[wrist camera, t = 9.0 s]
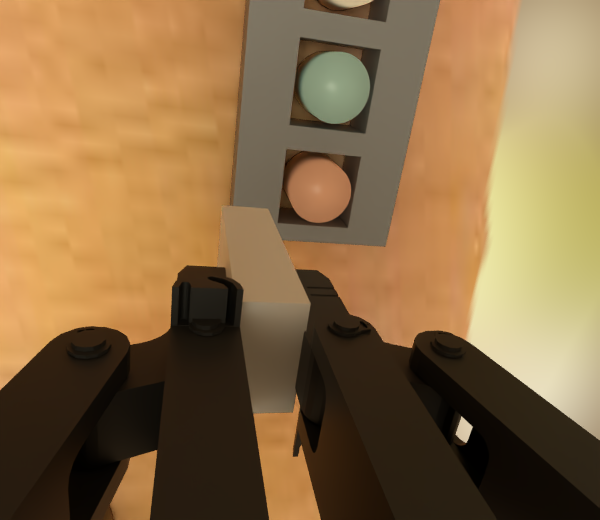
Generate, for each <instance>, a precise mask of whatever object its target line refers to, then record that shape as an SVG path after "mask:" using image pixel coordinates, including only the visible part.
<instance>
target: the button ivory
mask: <svg viewBox="0 0 600 520" xmlns="http://www.w3.org/2000/svg"><path fill="white" fill-rule="evenodd" d="M318 1H319V3H321V4H322V5H323V6H325V7H326V8H329V9H331V10H337V11H341V10H347V9H351V8H354V7H358V6H361V5H364V4H367V3H369V2H371V1H373V0H318Z"/></svg>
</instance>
